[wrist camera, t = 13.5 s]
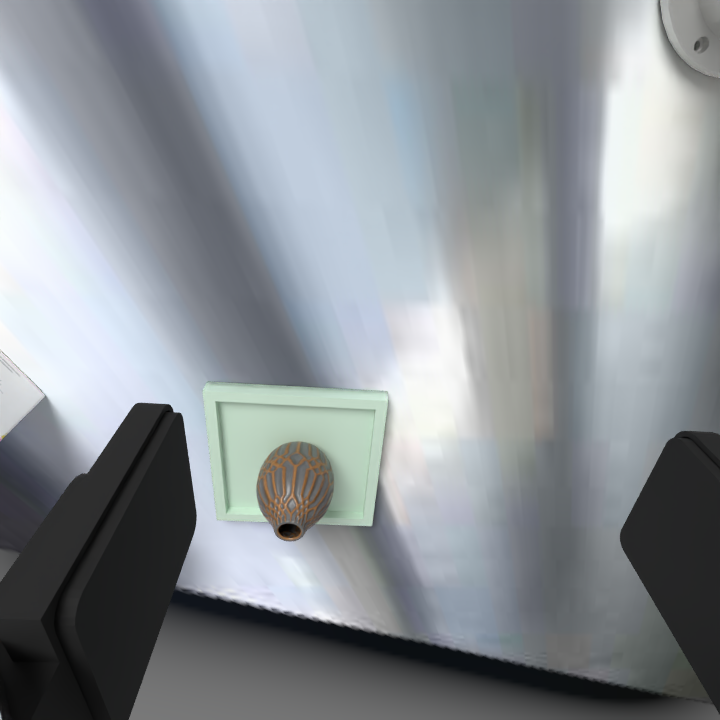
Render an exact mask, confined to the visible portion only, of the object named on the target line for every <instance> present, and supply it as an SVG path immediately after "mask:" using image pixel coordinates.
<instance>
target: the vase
mask: <svg viewBox="0 0 720 720" xmlns="http://www.w3.org/2000/svg"><path fill="white" fill-rule="evenodd" d="M333 493H334V474H333V470H332V466H331V464H330V461H329V460H328V458H327V456H326V455H325V454H324V453H323V452H322V451H321V450H320V449H319V448H317V447H316V446H314V445H312V444H310V443H306V442H300V441H295V442H289V443H285V444H283V445H281V446H279V447H277V448H276V449H274V450H273V451H272V452H271V453H270V454H269V455H268V457H267V458H266V459H265V461H264V463H263V464H262V466H261V469H260V471H259V475H258V478H257V484H256V495H257V501H258V505H259V508H260V510H261V512H262V514H263V516H264V517H265V518H266V520H267V521H268V522H269V523H270V524H271V525H272V527H273V529H274V532H275V534H276V536H277V537H278V538H280V539H281V540H284V541H296V540H298V539H300V538H301V537H302V536H303V535H304V534H305V532H306V531H307V530H308V529H309V528H311V527H312V526H313V525H315V524H316V523H317V522H318V521H319V520H320V519H321V518H322V517H323V516H324V515H325V513H326V511H327V510H328V508H329V506H330V503H331V500H332V497H333Z"/></svg>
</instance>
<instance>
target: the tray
mask: <svg viewBox="0 0 720 720" xmlns="http://www.w3.org/2000/svg"><path fill="white" fill-rule="evenodd" d="M203 400H204V409H205V418H206V427H207V436H208V445H209V454H210V463H211V472H212V481H213V490H214V499H215V508H216V517H217V520H225V521H250V522H268V521H267V520H266V518H265V517H264V516H263V514H262V512H261V510H260V508H259V505H258V501H257V495H256V484H257V478H258V475H259V471H260V469H261V466H262V464H263V463H264V461H265V459H266V458H267V457H268V455H269V454H270V453H271V452H272V451H273V450H274V449H276V448H277V447H279V446H281V445H283V444H285V443H289V442H295V441H300V442H306V443H310V444H312V445H314V446H316V447H317V448H319V449H320V450H321V451H322V452H323V453H324V454H325V455H326V456H327V458H328V460H329V461H330V464H331V466H332V470H333V474H334V493H333V497H332V500H331V503H330V506H329V508H328V510H327V511H326V513H325V515H324V516H323V517H322V518H321V519H320V520H319V521H318V522H317V523H316V524H327V525H353V526H372V522H373V514H374V507H375V499H376V491H377V483H378V476H379V468H380V460H381V453H382V445H383V437H384V429H385V422H386V414H387V406H388V395H387V391H372V390H353V389H335V388H316V387H298V386H279V385H261V384H242V383H224V382H207V383H206V385H205V387H204V389H203Z"/></svg>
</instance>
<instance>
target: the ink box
mask: <svg viewBox="0 0 720 720" xmlns="http://www.w3.org/2000/svg"><path fill="white" fill-rule="evenodd" d="M44 397H45V395H44V394H43V393H42V392H41V390H40V389H39V388H38V387H37V386H36V385H35V384H34V383H33V382H32V381H31V380H30V379H29V378H28V377H27V376H26V375H25V374H24V373H22V372H21V370H20V369H18V367H17V366H15V365H14V363H13V362H12V361H11V360H10V359H9V358H8V357H6V356H5V355H4V354H3V353H2V352H1V351H0V441H1V440H2V439H3V438H4V437H5V436H6V435H7V434H8V433H9V432H10V431H11V430H12V429H13V428H14V427H15V426H16V425H17V424H18V423H19V422H20V421H21V420H22V419H23V418H24V417H25V416H26V415H27V414H28V413H29V412H30V411H31V410H32V409H33V408H34V407H35V406H36V405H37V404H38V403H39V402H40V401H41V400H42V399H43V398H44Z"/></svg>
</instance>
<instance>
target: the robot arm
mask: <svg viewBox="0 0 720 720" xmlns="http://www.w3.org/2000/svg"><path fill="white" fill-rule="evenodd" d="M660 4H661V13H662V21H663V24H664V27H665V30H666V33H667V36H668V39H669V41H670V43H671V44H672V46H673V47H674V49H675V51H676V52H677V54H678V56H680V57H681V58H682V59H683V60H684V61H685V62H686V63H687V64H688V65H689V66H690V67H691V68H693V69H695V70H697V71H699V72H701V73H703V74H705V75H708V76H712V77H717V78H720V0H660ZM695 43H696V46H695V48H694V44H695ZM196 517H197V515H196V507H195V500H194V493H193V485H192V478H191V471H190V464H189V457H188V450H187V443H186V436H185V429H184V422H183V417H182V414H181V413H174V412H173V408H172V407H171V405H169V404H153V403H137V404H135V405H134V406H133V407H132V409H131V410H130V412H129V413H128V415H127V416H126V418H125V419H124V421H123V422H122V424H121V425H120V427H119V428H118V429H117V431H116V432H115V434H114V435H113V437H112V438H111V440H110V441H109V443H108V444H107V446H106V447H105V449H104V450H103V452H102V453H101V454H100V456H99V457H98V459H97V460H96V462H95V463H94V465H93V466H92V468H91V469H90V471H89V472H88V474H81V475H79V476H77V477H76V478H75V479H74V480H73V481H72V482H71V483H70V484H69V486H68V487H67V489H66V490H65V492H64V493H63V494H62V496H61V497H60V499H59V500H58V501H57V503H56V504H55V506H54V507H53V509H52V510H51V511H50V513H49V514H48V516H47V517H46V518H45V520H44V521H43V523H42V524H41V526H40V527H39V528H38V530H37V531H36V533H35V534H34V535H33V537H32V538H31V540H30V541H29V543H28V544H27V545H26V547H25V548H24V550H23V551H22V552H21V554H20V555H19V557H18V558H17V560H16V561H15V562H14V564H13V565H12V567H11V568H10V569H9V571H8V572H7V574H6V575H5V577H4V578H3V579H2V581H1V582H0V720H128V719H129V717H130V714H131V711H132V708H133V705H134V703H135V699H136V697H137V694H138V691H139V688H140V686H141V683H142V680H143V677H144V674H145V671H146V669H147V666H148V663H149V660H150V657H151V654H152V651H153V649H154V646H155V643H156V640H157V637H158V634H159V631H160V629H161V626H162V623H163V620H164V617H165V614H166V612H167V608H168V606H169V603H170V600H171V597H172V594H173V592H174V589H175V586H176V583H177V580H178V577H179V574H180V572H181V569H182V566H183V563H184V560H185V557H186V555H187V552H188V549H189V546H190V543H191V540H192V537H193V535H194V531H195V527H196ZM620 542H621V545H622V548H623V550H624V552H625V554H626V555H627V557H628V559H629V561H630V562H631V564H632V566H633V567H634V569H635V571H636V572H637V574H638V576H639V578H640V579H641V581H642V583H643V584H644V586H645V588H646V589H647V591H648V593H649V595H650V596H651V598H652V600H653V601H654V603H655V605H656V607H657V608H658V610H659V612H660V613H661V615H662V617H663V618H664V620H665V622H666V624H667V625H668V627H669V629H670V630H671V632H672V634H673V636H674V637H675V639H676V641H677V642H678V644H679V646H680V647H681V649H682V651H683V653H684V654H685V656H686V658H687V659H688V661H689V663H690V665H691V666H692V668H693V670H694V671H695V673H696V675H697V676H698V678H699V680H700V682H701V683H702V685H703V687H704V688H705V690H706V692H707V694H708V695H709V697H710V699H711V700H712V702H713V704H714V705H715V707H716V708H717V710H718V712H719V714H720V435H719V434H716V433H713V432H696V431H682V432H680V433H678V434H676V436H675V437H674V438H672V439H670V440H669V441H668V442H667V443H666V445H665V447H664V449H663V451H662V453H661V455H660V457H659V459H658V461H657V462H656V464H655V466H654V468H653V470H652V472H651V474H650V476H649V478H648V480H647V482H646V484H645V485H644V487H643V489H642V491H641V493H640V495H639V497H638V499H637V501H636V503H635V505H634V507H633V508H632V510H631V512H630V514H629V516H628V518H627V520H626V522H625V524H624V526H623V528H622V530H621V533H620Z"/></svg>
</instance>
